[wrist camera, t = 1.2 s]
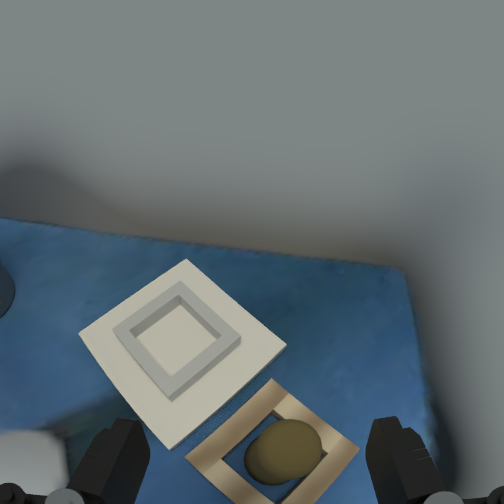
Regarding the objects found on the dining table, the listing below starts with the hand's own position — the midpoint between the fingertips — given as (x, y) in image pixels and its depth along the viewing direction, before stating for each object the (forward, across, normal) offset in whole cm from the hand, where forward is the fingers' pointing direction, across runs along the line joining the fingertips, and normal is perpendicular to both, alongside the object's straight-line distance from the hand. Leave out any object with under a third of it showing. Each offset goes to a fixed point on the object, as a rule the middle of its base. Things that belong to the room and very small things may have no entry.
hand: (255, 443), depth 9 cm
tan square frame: (+15, -1, +19) cm, 24 cm away
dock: (+25, +10, +11) cm, 29 cm away
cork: (+15, -1, +20) cm, 24 cm away
